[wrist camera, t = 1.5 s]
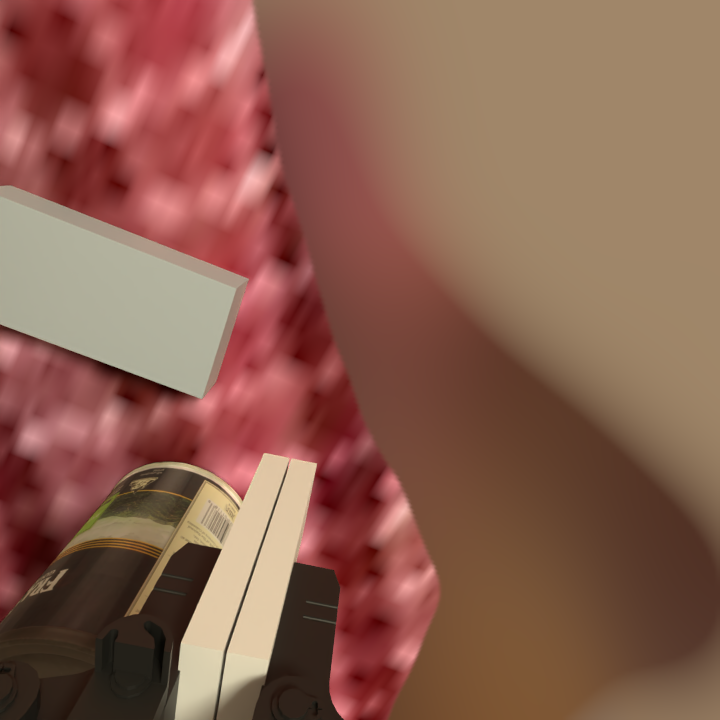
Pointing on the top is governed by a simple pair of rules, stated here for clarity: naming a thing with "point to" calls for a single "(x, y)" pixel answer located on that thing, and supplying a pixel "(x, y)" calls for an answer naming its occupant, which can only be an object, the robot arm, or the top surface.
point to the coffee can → (115, 564)
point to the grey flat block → (114, 294)
